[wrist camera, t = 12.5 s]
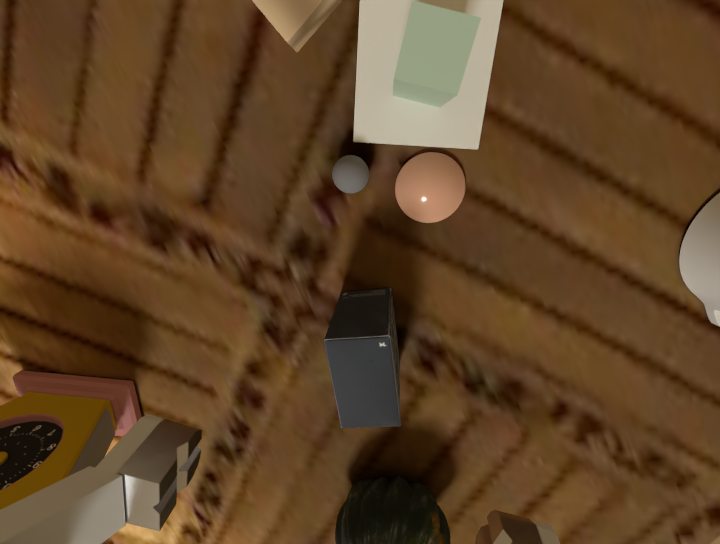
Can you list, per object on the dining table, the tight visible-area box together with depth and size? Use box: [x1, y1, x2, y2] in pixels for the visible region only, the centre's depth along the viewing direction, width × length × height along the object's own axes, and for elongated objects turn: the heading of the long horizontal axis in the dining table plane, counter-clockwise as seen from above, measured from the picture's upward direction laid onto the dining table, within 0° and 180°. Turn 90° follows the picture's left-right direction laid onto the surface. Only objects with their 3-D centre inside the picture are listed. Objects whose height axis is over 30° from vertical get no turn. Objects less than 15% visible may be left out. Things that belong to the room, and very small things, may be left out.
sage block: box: [393, 0, 481, 108], centre depth 27 cm, size 4×4×9 cm
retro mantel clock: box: [0, 370, 142, 510], centre depth 39 cm, size 22×9×22 cm, turn 87°
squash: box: [335, 476, 450, 544], centre depth 45 cm, size 14×15×15 cm
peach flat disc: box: [395, 152, 465, 223], centre depth 35 cm, size 7×7×1 cm
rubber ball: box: [332, 155, 369, 193], centre depth 34 cm, size 4×4×4 cm
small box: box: [324, 288, 401, 428], centre depth 37 cm, size 11×6×10 cm, turn 8°
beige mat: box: [353, 0, 503, 149], centre depth 31 cm, size 12×12×1 cm
